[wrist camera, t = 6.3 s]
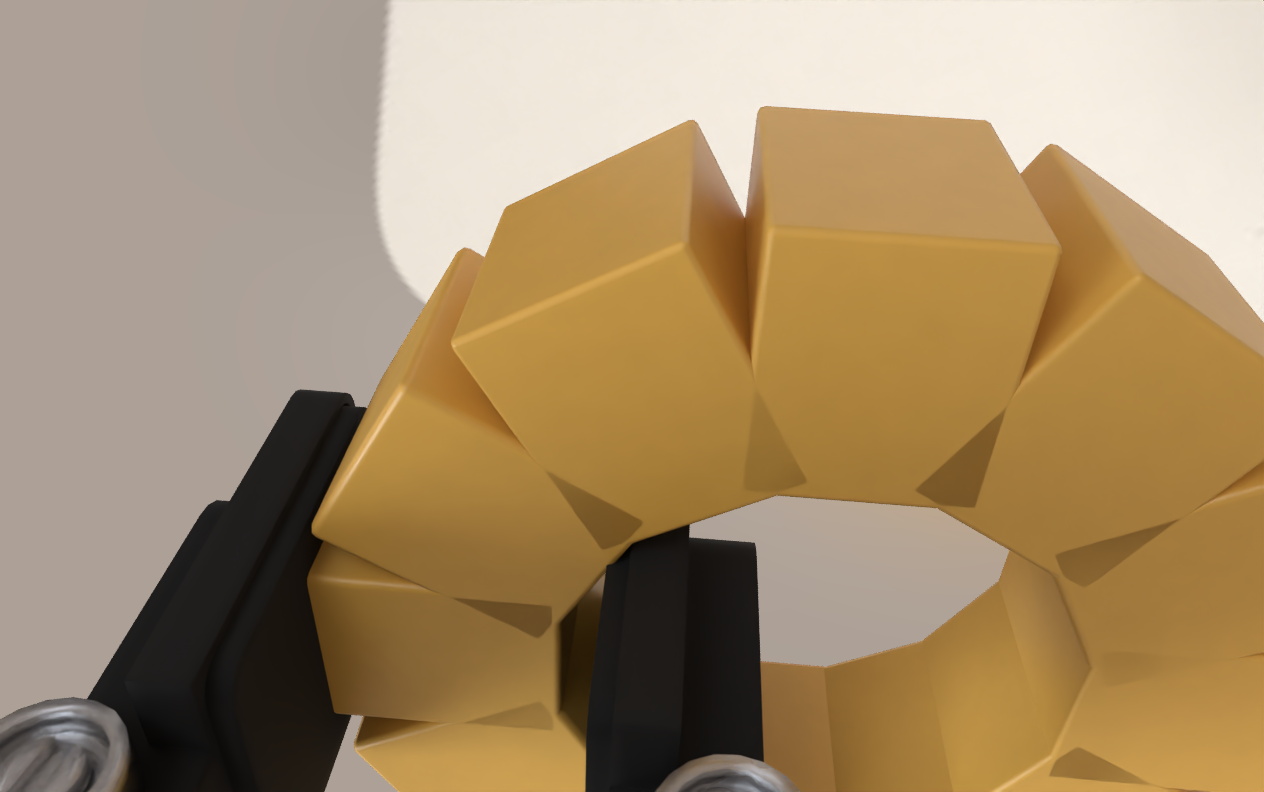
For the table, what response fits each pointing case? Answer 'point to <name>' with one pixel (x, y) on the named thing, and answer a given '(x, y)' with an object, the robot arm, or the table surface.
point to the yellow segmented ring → (819, 463)
